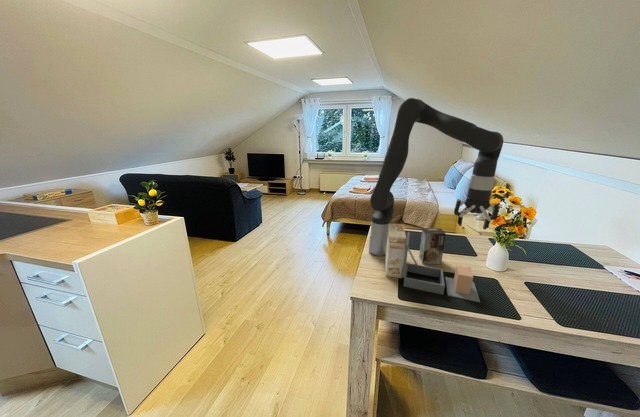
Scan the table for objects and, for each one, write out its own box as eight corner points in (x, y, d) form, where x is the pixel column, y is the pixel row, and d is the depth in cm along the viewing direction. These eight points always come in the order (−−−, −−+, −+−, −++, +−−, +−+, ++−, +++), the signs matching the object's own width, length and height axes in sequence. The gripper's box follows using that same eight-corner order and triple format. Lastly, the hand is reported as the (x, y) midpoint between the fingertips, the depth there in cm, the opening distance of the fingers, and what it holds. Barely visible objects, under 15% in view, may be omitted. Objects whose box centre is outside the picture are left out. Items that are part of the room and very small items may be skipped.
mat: (447, 295, 97) (447, 294, 97) (444, 277, 108) (445, 276, 108) (479, 302, 93) (480, 301, 93) (473, 283, 104) (474, 282, 104)
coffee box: (436, 257, 125) (441, 228, 120) (441, 264, 119) (446, 233, 114) (418, 257, 126) (422, 227, 121) (421, 263, 120) (426, 232, 115)
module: (455, 291, 98) (458, 274, 96) (453, 282, 104) (456, 265, 102) (469, 294, 96) (473, 277, 94) (466, 284, 103) (470, 267, 100)
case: (400, 285, 103) (405, 244, 97) (403, 269, 115) (407, 232, 109) (443, 294, 97) (450, 251, 91) (441, 277, 109) (447, 237, 103)
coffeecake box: (402, 278, 108) (406, 237, 102) (385, 276, 110) (388, 236, 104) (400, 261, 122) (403, 224, 116) (385, 259, 123) (388, 223, 117)
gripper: (460, 187, 92) (452, 227, 97) (505, 191, 87) (495, 233, 92) (458, 183, 99) (451, 221, 104) (500, 186, 94) (491, 226, 99)
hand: (472, 227), depth 98 cm, fingers open, 8 cm apart
